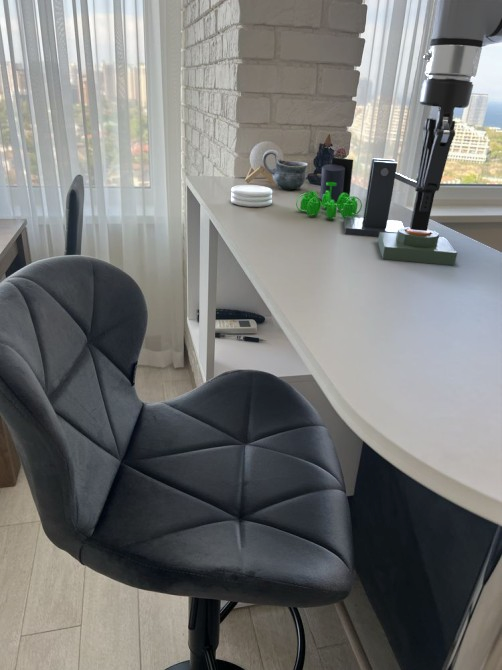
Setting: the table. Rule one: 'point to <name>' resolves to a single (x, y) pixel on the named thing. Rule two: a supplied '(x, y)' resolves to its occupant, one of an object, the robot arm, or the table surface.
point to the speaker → (337, 177)
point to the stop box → (416, 247)
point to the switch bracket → (376, 202)
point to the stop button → (418, 232)
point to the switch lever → (405, 180)
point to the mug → (286, 172)
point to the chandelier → (329, 204)
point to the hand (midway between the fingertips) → (418, 228)
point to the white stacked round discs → (251, 195)
